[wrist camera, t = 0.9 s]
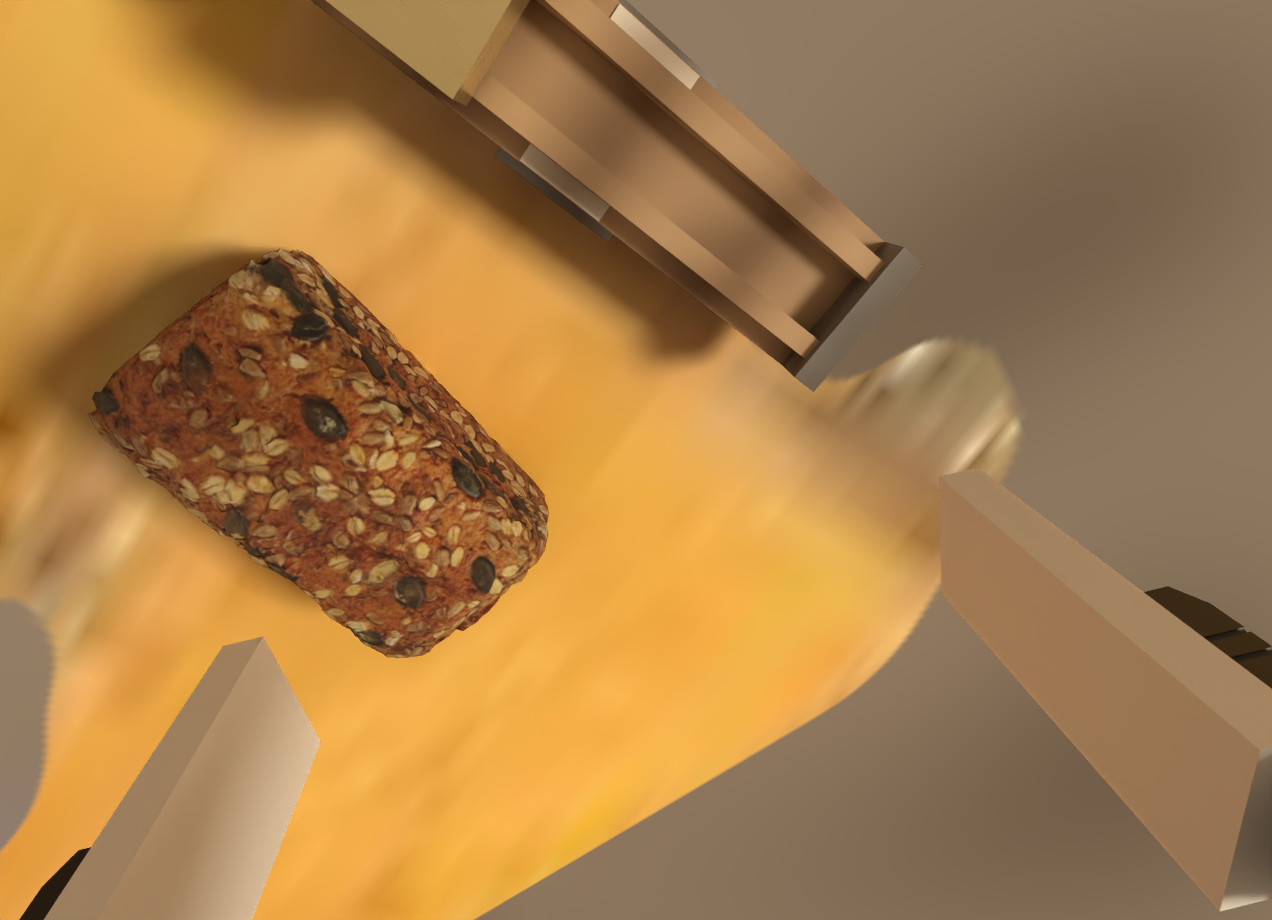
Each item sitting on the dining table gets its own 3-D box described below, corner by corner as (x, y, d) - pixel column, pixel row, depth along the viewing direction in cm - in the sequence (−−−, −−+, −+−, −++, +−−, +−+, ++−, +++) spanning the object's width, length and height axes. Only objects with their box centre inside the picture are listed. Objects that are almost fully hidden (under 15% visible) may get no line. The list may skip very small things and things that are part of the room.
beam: (285, -12, 30) (202, -61, 23) (378, -198, 28) (316, -314, 21) (763, 356, 39) (806, 400, 32) (862, 235, 37) (931, 254, 30)
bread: (169, 360, 36) (36, 430, 27) (316, 229, 34) (226, 256, 25) (425, 590, 43) (388, 707, 34) (559, 491, 41) (558, 586, 32)
